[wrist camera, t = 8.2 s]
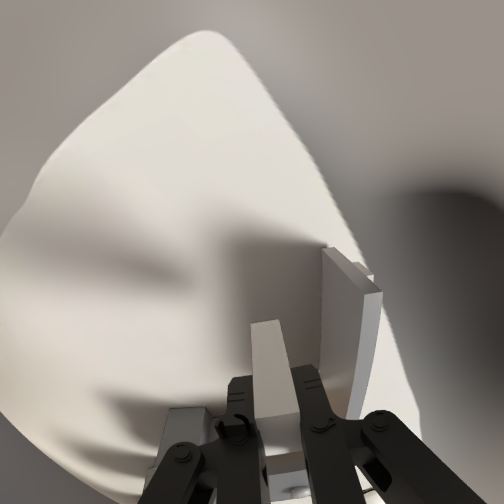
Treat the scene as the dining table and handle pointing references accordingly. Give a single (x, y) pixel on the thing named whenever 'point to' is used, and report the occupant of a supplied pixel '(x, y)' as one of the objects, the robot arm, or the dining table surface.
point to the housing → (203, 431)
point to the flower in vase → (373, 498)
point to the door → (347, 331)
